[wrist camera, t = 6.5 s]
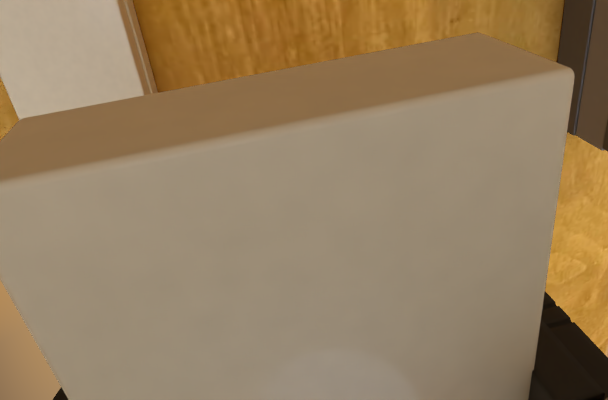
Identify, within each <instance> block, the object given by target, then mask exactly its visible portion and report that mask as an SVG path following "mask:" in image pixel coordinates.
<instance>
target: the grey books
mask: <svg viewBox="0 0 608 400" xmlns="http://www.w3.org/2000/svg"><path fill="white" fill-rule="evenodd" d="M557 63H559V64H562V65H564V66H567V67H569V68H571V69H572V70H573V72H574V76H575V78H574V85H573V92H572V99H571V107H570V114H569V121H568V128H567V132H569V133H570V134H572V135H576V136H578V137H580V138H581V139H583V140H585V141H586V142H588V143H590V144H592V145H593V146H595V147H597V148H599V149H600V150H606V151H608V0H565V6H564V14H563V22H562V30H561V38H560V46H559V54H558V62H557Z"/></svg>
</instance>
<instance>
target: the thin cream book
mask: <svg viewBox="0 0 608 400" xmlns="http://www.w3.org/2000/svg"><path fill="white" fill-rule="evenodd" d="M574 78H575V76H574V72H573V70H572V69H571V68H569V67H567V66H564V65H562V64H559V63H556V62H554V61H551V60H549V59H546V58H544V57H541V56H538V55H536V54H533V53H531V52H528V51H526V50H523V49H520V48H518V47H515V46H513V45H510V44H508V43H505V42H502V41H500V40H497V39H495V38H492V37H490V36H487V35H484V34H481V33H473V34H468V35H462V36H457V37H452V38H446V39H441V40H436V41H430V42H425V43H420V44H415V45H409V46H404V47H399V48H393V49H388V50H383V51H377V52H372V53H367V54H361V55H356V56H351V57H346V58H340V59H335V60H330V61H324V62H319V63H314V64H308V65H303V66H298V67H292V68H287V69H282V70H277V71H271V72H266V73H261V74H255V75H250V76H245V77H239V78H234V79H229V80H223V81H218V82H213V83H208V84H202V85H197V86H192V87H186V88H181V89H176V90H170V91H165V92H160V93H154V94H149V95H144V96H139V97H133V98H128V99H123V100H117V101H112V102H107V103H101V104H96V105H91V106H85V107H80V108H75V109H70V110H64V111H59V112H54V113H48V114H43V115H38V116H32V117H27V118H22V119H21V120H19V121H18V122H17V123H16V124H15V125H14V126H13V127H12V129H11V130H10V131H9V132H8V133H7V134H6V135H5V136H4V137H3V139H2V140H1V141H0V280H1V281H2V283H3V285H4V287H5V289H6V290H7V292H8V294H9V295H10V297H11V299H12V301H13V303H14V304H15V306H16V308H17V310H18V311H19V313H20V315H21V317H22V318H23V320H24V322H25V324H26V325H27V327H28V329H29V331H30V333H31V334H32V336H33V338H34V340H35V341H36V343H37V345H38V347H39V349H40V350H41V352H42V354H43V356H44V357H45V359H46V361H47V362H48V364H49V366H50V368H51V370H52V371H53V373H54V375H55V377H56V378H57V380H58V382H59V383H60V386H61V387H62V389H63V391H64V393H65V394H66V396H67V398H68V400H528V398H529V391H530V384H531V376H532V371H533V370H534V365H535V358H536V351H537V344H538V336H539V329H540V322H541V315H542V308H543V301H544V293H545V286H546V279H547V272H548V265H549V257H550V250H551V243H552V236H553V229H554V222H555V214H556V207H557V200H558V193H559V186H560V178H561V171H562V164H563V157H564V150H565V143H566V135H567V128H568V121H569V114H570V107H571V99H572V92H573V85H574Z"/></svg>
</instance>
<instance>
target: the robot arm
mask: <svg viewBox="0 0 608 400" xmlns="http://www.w3.org/2000/svg"><path fill="white" fill-rule="evenodd" d="M53 400H68V398H67V396H66V394H65V393H64V391H63V389H62V387H61V389H60V390H59V391H58V393H57V394H56V396H55V397H54V399H53ZM528 400H608V358H607V357H606V356H605V354H604V353H603V352H602V351H601V350H600V349H599V348H598V347H597V346H596V345H595V344H594V343H593V342H592V341H591V340H590V339H589V338H588V336H587V335H586V334H585V333H584V332H583V331H582V330H581V329H580V328H579V327H578V326H577V325H576V324H575V323H574V322H573V323H572V322H571V320H570V317H569V316H568V315H567V314H566V313H565V312H564V311H563V310H562V309H561V308H560V307H559V306H556V304H555V301H554V300H553V299H552V298H551V297H550V296H549V295H548V294H547V293H546V292H545V293H544V301H543V308H542V315H541V322H540V329H539V336H538V344H537V351H536V358H535V365H534V370H533V371H532V376H531V384H530V391H529V398H528Z"/></svg>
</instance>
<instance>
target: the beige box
mask: <svg viewBox="0 0 608 400" xmlns="http://www.w3.org/2000/svg"><path fill="white" fill-rule="evenodd" d="M0 76H1V79H2V81H3V83H4V86H5V88H6V90H7V93H8V95H9V97H10V99H11V102H12V104H13V106H14V109H15V111H16V113H17V116H18V118H19V120H21V119H22V118H27V117H32V116H38V115H43V114H48V113H54V112H59V111H64V110H70V109H75V108H80V107H85V106H91V105H96V104H101V103H107V102H112V101H117V100H123V99H128V98H133V97H139V96H144V95H149V94H154V93H158V91H157V87H156V84H155V80H154V77H153V73H152V69H151V66H150V62H149V59H148V55H147V51H146V48H145V44H144V40H143V37H142V33H141V30H140V26H139V22H138V19H137V15H136V11H135V8H134V4H133V1H132V0H0Z"/></svg>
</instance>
